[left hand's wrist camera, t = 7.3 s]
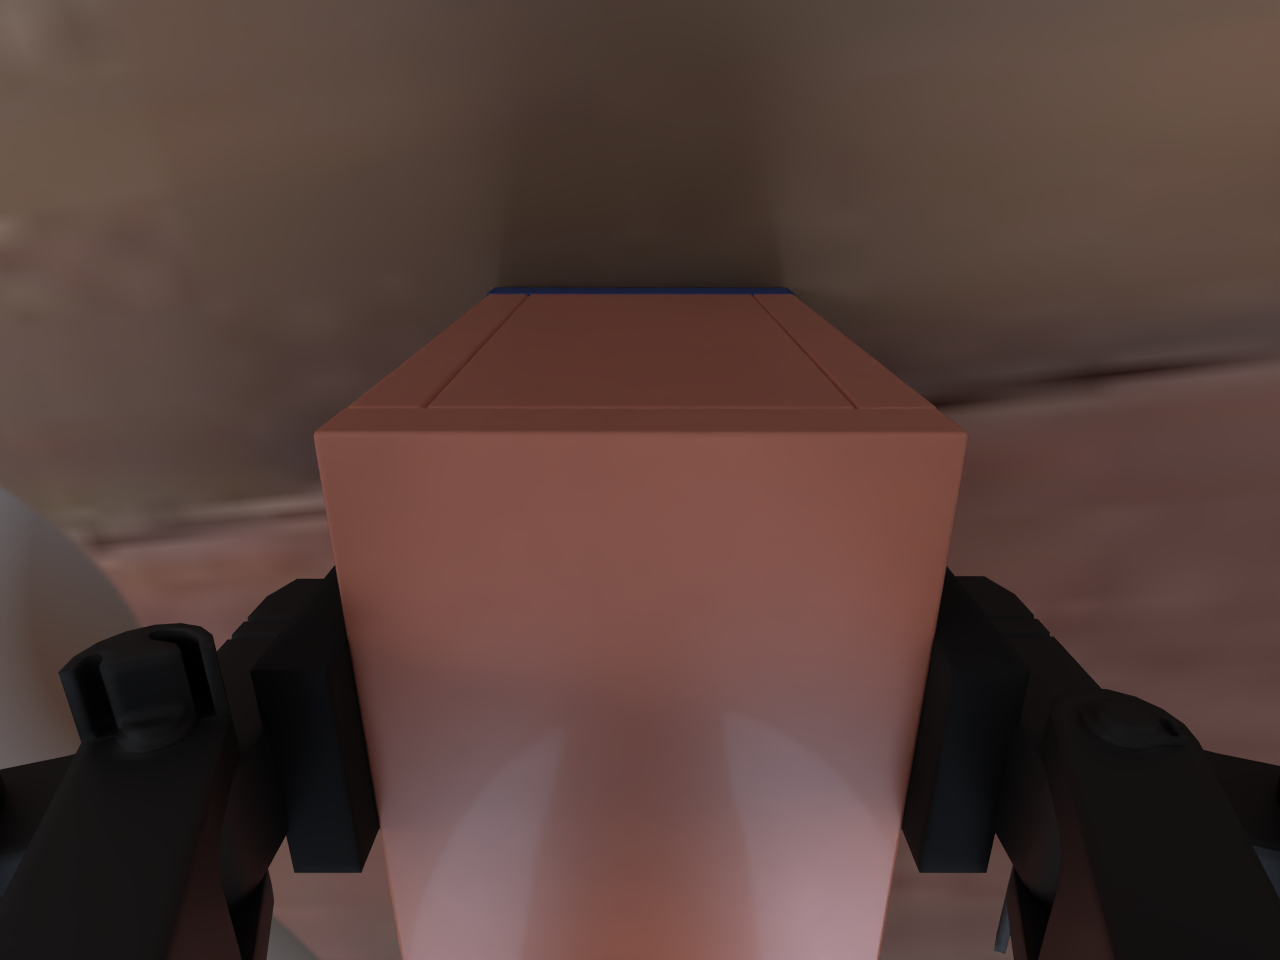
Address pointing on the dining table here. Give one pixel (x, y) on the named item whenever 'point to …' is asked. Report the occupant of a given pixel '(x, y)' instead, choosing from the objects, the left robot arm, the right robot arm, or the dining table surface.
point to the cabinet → (640, 624)
